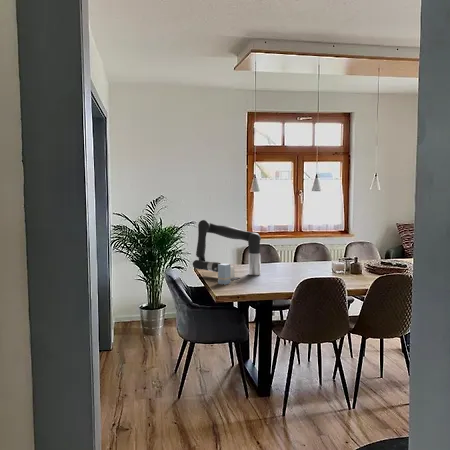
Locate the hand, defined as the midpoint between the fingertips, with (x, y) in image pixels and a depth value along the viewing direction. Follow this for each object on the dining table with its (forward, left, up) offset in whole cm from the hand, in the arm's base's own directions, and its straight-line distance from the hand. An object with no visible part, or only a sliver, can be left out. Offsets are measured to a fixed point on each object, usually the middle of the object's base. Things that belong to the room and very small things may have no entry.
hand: (230, 269), depth 352 cm
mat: (+2, -1, -8) cm, 8 cm away
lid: (+2, -1, -7) cm, 7 cm away
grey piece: (+2, +17, -8) cm, 19 cm away
